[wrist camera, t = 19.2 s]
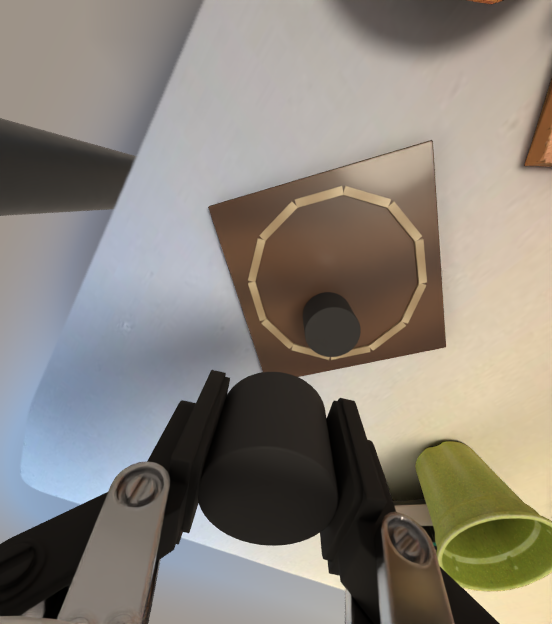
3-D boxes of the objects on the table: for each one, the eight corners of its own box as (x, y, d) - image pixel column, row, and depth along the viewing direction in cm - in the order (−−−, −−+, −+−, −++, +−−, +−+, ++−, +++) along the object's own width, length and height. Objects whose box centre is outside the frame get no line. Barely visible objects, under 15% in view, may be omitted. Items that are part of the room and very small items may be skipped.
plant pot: (419, 418, 28) (470, 506, 20) (509, 437, 29) (595, 530, 21) (386, 483, 32) (419, 580, 24) (467, 499, 32) (526, 600, 24)
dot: (332, 282, 23) (339, 296, 20) (360, 318, 24) (371, 337, 21) (292, 311, 24) (293, 329, 21) (321, 344, 25) (326, 366, 22)
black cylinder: (209, 381, 11) (175, 460, 8) (313, 361, 10) (324, 436, 7) (240, 458, 12) (222, 552, 9) (333, 444, 12) (350, 539, 8)
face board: (211, 206, 22) (207, 206, 21) (426, 142, 20) (434, 139, 19) (267, 377, 28) (266, 384, 26) (440, 342, 25) (447, 348, 24)
